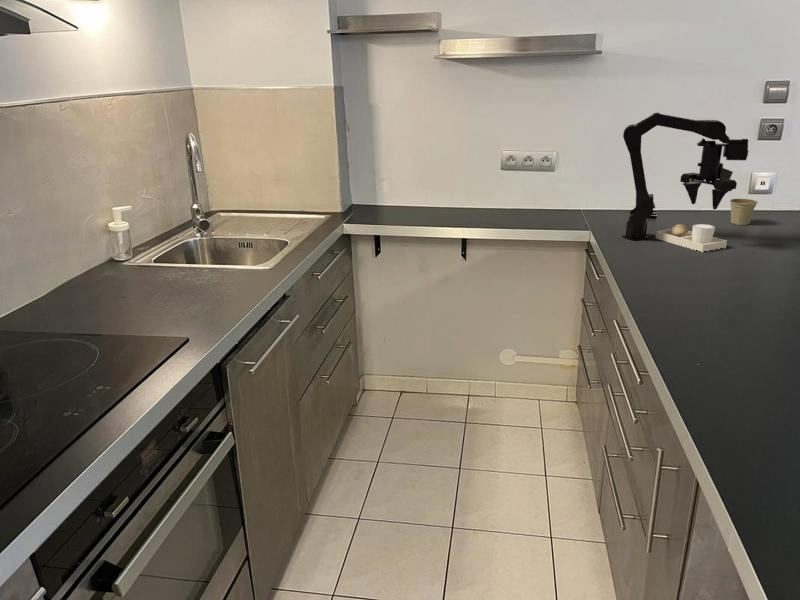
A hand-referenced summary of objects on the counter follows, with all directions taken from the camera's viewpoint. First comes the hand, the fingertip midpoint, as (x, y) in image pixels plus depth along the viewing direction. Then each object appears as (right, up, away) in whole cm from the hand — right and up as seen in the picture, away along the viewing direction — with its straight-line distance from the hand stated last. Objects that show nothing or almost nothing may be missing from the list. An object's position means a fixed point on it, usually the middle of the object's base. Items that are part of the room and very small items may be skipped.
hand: (703, 206), depth 208 cm
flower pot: (+26, -3, +25) cm, 37 cm away
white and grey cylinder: (-2, -14, -1) cm, 14 cm away
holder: (-4, -12, +3) cm, 13 cm away
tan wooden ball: (-5, -11, +7) cm, 14 cm away
